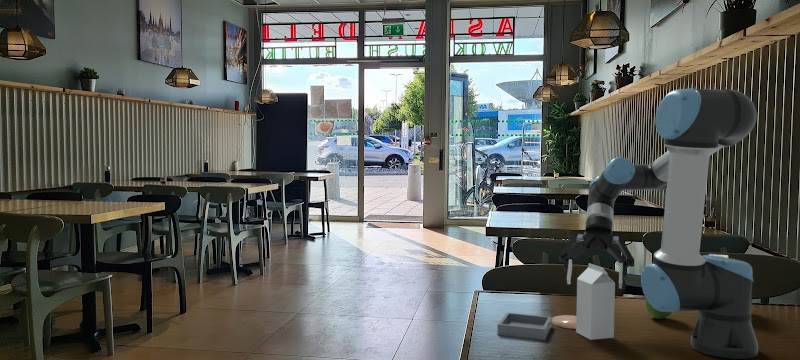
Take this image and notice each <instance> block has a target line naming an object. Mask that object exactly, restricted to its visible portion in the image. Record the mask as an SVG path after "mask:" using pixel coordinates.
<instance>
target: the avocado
mask: <svg viewBox="0 0 800 360" xmlns="http://www.w3.org/2000/svg"><path fill="white" fill-rule="evenodd" d="M645 308H646V310H647V312H648V315H650V316H651V317H652V318H654V319H657V320H662V319H665V318H667V317H668V318H669V316H670V315H671V314H672V313H673V312H662V311H658V310H656V309H655V308H653V307H652V306H651V305H650V303H649V302H648V301H647V299H646V298H645Z"/></svg>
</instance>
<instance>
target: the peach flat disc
mask: <svg viewBox="0 0 800 360" xmlns="http://www.w3.org/2000/svg"><path fill="white" fill-rule="evenodd" d="M576 318H577V315H573V314H572V315H569V314H564V315H561V314H560V315H557V316H556V315H555V316H553V317H552V320H551V324H553V325H554V326H556V327H559V328H563V329H568V330H576Z"/></svg>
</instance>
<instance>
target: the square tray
mask: <svg viewBox="0 0 800 360" xmlns="http://www.w3.org/2000/svg"><path fill="white" fill-rule="evenodd" d="M552 318H553V317H552V316H548V315H547V316H546V315H536V314H525V313H517V312H515V313H514V312H506V313H505V315H503V317H502V318H501V319H500V321H498V323H497V332H496V333H497V335H499V336H508V337H516V338H524V339H525V338H526V339H533V340H534V339H535V340H543V341H545V340H546V339H547V337H548V335H549V332H550V330H551V328H552Z"/></svg>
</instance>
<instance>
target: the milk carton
mask: <svg viewBox="0 0 800 360" xmlns="http://www.w3.org/2000/svg"><path fill="white" fill-rule="evenodd" d="M576 279H577V280H576V316H577V318H576V329H575V330H576V331H575V332H576V334H578V335H581V336H582V337H584V338H586V339H588V340H590V341H593V340H604V339H605V340H606V339H614V338H615V302H616V301H615V299H616V292H615V291H616V282H615V281H614V280H613V279H612V278H611V277H610V276H609V273H608V272H607V271H606V270H605V268H604V267H601V266H598V265H595V264H592V263H588V267H587V268H586V269H585V270H584V271H583V272H582V273H581V274H580V275H579V276H578V277H577V278H576Z"/></svg>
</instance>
